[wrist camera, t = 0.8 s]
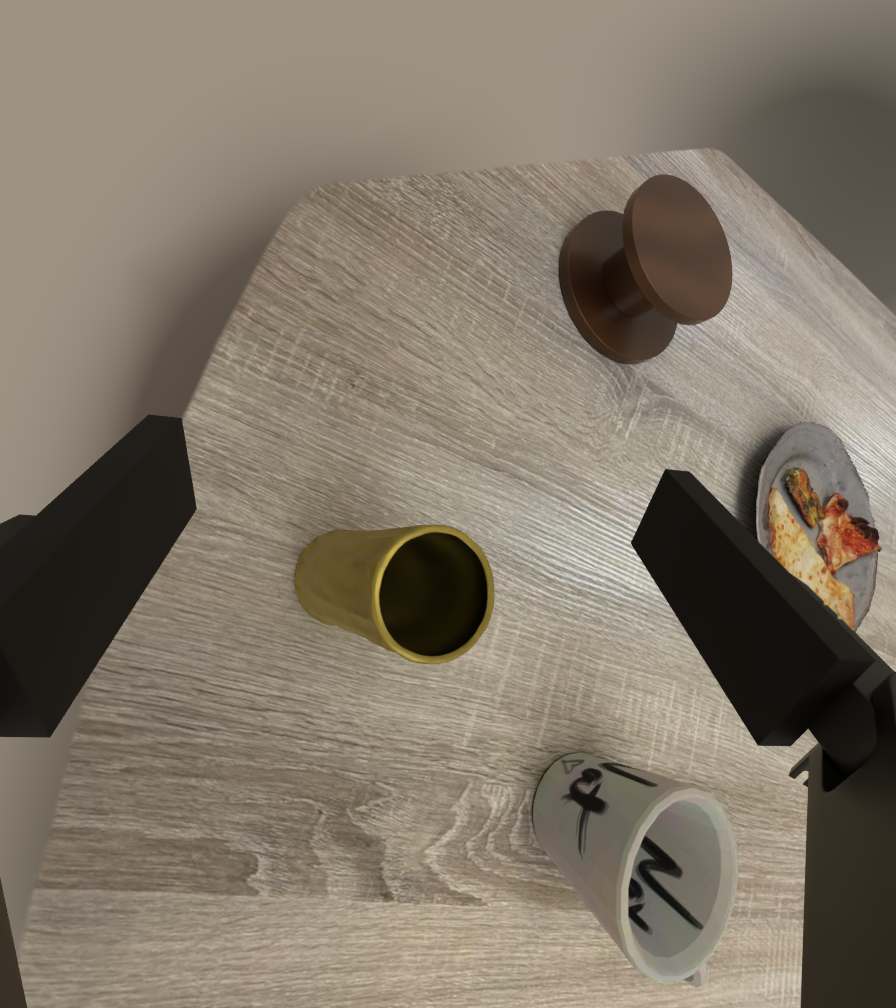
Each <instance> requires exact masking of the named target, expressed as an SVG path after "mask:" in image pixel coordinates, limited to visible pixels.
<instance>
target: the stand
mask: <svg viewBox="0 0 896 1008" xmlns="http://www.w3.org/2000/svg"><path fill="white" fill-rule="evenodd" d="M559 277H560V286H561V290H562V295H563V298H564V301H565V305H566V307H567V309H568V312H569V314H570V316H571V318H572V320H573V322H574V324H575V325H576V327H577V328H578V330H579V331H580V333H581V334H582V335H583V337H584V338H585V339H586V340H587V342H588V343H589V344H590V345H591V346H592V347H593V348H595V349H596V350H597V351H598V352H600V353H601V354H602V355H604V356H606V357H607V358H609V359H611V360H614V361H616V362H620V363H625V364H637V363H641V362H644V361H646V360H649V359H651V358H653V357H655V356H657V355H659V354H660V353H661V352H663V351H664V350H665V348H666V347H667V346H668V345H669V343H670V342H671V340H672V338H673V336H674V334H675V331H676V327H677V323H679V324H683V325H696V324H700V323H702V322H704V321H706V320H708V319H711V318H713V317H715V316H716V315H717V314H718V313H719V312H720V311H721V310H722V309H723V308H724V306H725V304H726V303H727V300H728V298H729V295H730V291H731V285H732V262H731V255H730V250H729V246H728V243H727V239H726V236H725V234H724V231H723V229H722V226H721V224H720V222H719V220H718V218H717V216H716V215H715V213H714V211H713V210H712V208H711V207H710V205H709V204H708V202H707V201H706V200H705V199H704V197H703V196H702V195H701V194H700V193H699V192H698V191H697V190H696V189H695V188H694V187H693V186H691V185H690V184H688V183H687V182H686V181H684V180H682V179H680V178H678V177H675V176H671V175H657V176H653V177H651V178H649V179H648V180H647V181H645V182H644V183H643V184H642V185H641V186H639V187H638V188H637V189H636V190H635V191H634V192H633V193H632V195H631V196H630V198H629V200H628V201H627V204H626V207H625V210H624V214H621V213H618V212H614V211H599V212H595V213H592V214H590V215H588V216H587V217H586V218H584V219H583V220H582V221H581V222H580V223H578V224H577V225H576V226H575V227H574V228H573V229H572V230H571V232H570V233H569V234H568V236H567V238H566V239H565V242H564V244H563V247H562V251H561V255H560V262H559Z"/></svg>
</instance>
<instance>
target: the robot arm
mask: <svg viewBox="0 0 896 1008" xmlns="http://www.w3.org/2000/svg"><path fill="white" fill-rule="evenodd" d="M196 509H197V508H196V502H195V496H194V490H193V484H192V478H191V472H190V466H189V460H188V454H187V448H186V441H185V435H184V429H183V423H182V418H175V417H166V416H156V415H148V416H146V418H144V419H143V420H142V421H141V422H140V423H139V424H138V425H136V426H135V427H134V428H133V429H132V430H131V431H130V432H129V433H128V434H126V435H125V436H124V437H123V438H122V439H121V440H120V441H119V442H118V443H116V444H115V445H114V446H113V447H112V448H111V449H110V450H109V451H107V452H106V453H105V454H104V455H103V456H102V457H101V458H100V459H99V460H98V461H96V462H95V463H94V464H93V465H92V466H91V467H90V468H89V469H87V470H86V471H85V472H84V473H83V474H82V475H81V476H80V477H79V478H77V479H76V480H75V481H74V482H73V483H72V484H71V485H70V486H69V487H67V488H66V489H65V490H64V491H63V492H62V493H61V494H60V495H58V496H57V498H55V499H54V500H53V501H52V502H51V503H50V504H48V505H47V506H46V507H45V508H44V509H43V510H42V511H41V512H40V513H38V514H37V515H36V516H32V515H18V516H16V517H13V518H11V519H9V520H7V521H5V522H3V523H1V524H0V737H51V735H52V734H53V732H54V730H55V729H56V727H57V726H58V724H59V723H60V721H61V720H62V718H63V716H64V715H65V713H66V712H67V710H68V708H69V707H70V706H71V704H72V702H73V701H74V699H75V697H76V696H77V694H78V693H79V692H80V690H81V688H82V687H83V685H84V684H85V682H86V681H87V679H88V677H89V676H90V674H91V673H92V671H93V670H94V668H95V667H96V665H97V663H98V662H99V660H100V659H101V657H102V656H103V654H104V653H105V651H106V649H107V648H108V646H109V645H110V643H111V642H112V640H113V639H114V637H115V635H116V634H117V632H118V631H119V629H120V628H121V626H122V625H123V623H124V621H125V620H126V618H127V617H128V615H129V614H130V612H131V610H132V609H133V607H134V606H135V604H136V603H137V601H138V600H139V598H140V596H141V595H142V593H143V592H144V590H145V589H146V587H147V586H148V584H149V582H150V581H151V579H152V578H153V576H154V575H155V573H156V572H157V570H158V568H159V567H160V565H161V564H162V562H163V561H164V559H165V557H166V556H167V554H168V553H169V551H170V550H171V548H172V547H173V545H174V543H175V542H176V540H177V539H178V537H179V536H180V534H181V533H182V531H183V529H184V528H185V526H186V525H187V523H188V522H189V520H190V519H191V517H192V515H193V514H194V512H195V511H196ZM631 544H632V546H633V548H634V549H635V551H636V552H637V554H638V556H639V557H640V559H641V560H642V562H643V564H644V565H645V567H646V568H647V570H648V571H649V573H650V575H651V576H652V578H653V579H654V581H655V583H656V584H657V586H658V587H659V589H660V591H661V592H662V594H663V595H664V597H665V599H666V600H667V602H668V603H669V605H670V606H671V608H672V610H673V611H674V613H675V614H676V616H677V618H678V619H679V621H680V622H681V624H682V626H683V627H684V629H685V630H686V632H687V633H688V635H689V637H690V638H691V640H692V641H693V643H694V645H695V646H696V648H697V649H698V651H699V653H700V654H701V656H702V657H703V659H704V661H705V662H706V664H707V665H708V667H709V668H710V670H711V672H712V673H713V675H714V676H715V678H716V680H717V681H718V683H719V684H720V686H721V688H722V689H723V691H724V692H725V694H726V696H727V697H728V699H729V700H730V702H731V703H732V705H733V707H734V708H735V710H736V711H737V713H738V715H739V716H740V718H741V719H742V721H743V723H744V724H745V726H746V727H747V729H748V730H749V732H750V734H751V735H752V737H753V738H754V740H755V742H756V743H757V745H758V746H791V745H792V744H793V743H794V742H795V741H796V740H797V739H798V738H799V737H800V736H801V735H802V734H803V733H804V732H805V731H806V730H807V729H809V730H810V731H811V733H812V734H813V735H814V737H815V738H816V739H817V741H818V742H819V743H818V744H817V745H816V746H814V747H813V748H812V749H811V750H810V751H809V752H808V753H807V754H806V755H805V756H804V757H803V758H802V759H801V760H800V761H799V762H798V763H797V764H796V765H794V766H793V767H792V768H791V771H790V773H789V776H790V777H792V778H793V779H795V778H796V777H797V776H798V775H799V774H800V773H802V772H803V771H809V777H808V779H807V780H806V781H805V782H804V783H803V785H805V786H807V787H808V807H807V837H806V867H805V897H804V926H803V956H802V986H801V1008H896V672H894V671H893V670H892V669H891V668H890V667H889V666H888V665H887V664H886V663H885V662H884V661H883V660H882V659H881V658H880V657H879V656H878V655H877V654H876V653H875V652H874V651H873V650H872V649H871V648H870V647H869V646H868V645H867V644H866V643H865V642H864V641H863V640H862V639H861V638H860V637H859V636H858V635H857V634H856V633H855V632H854V631H853V630H852V629H851V628H850V627H849V626H848V625H847V624H846V623H845V622H844V621H843V620H842V619H838V615H837V614H836V613H835V612H834V611H833V610H832V609H831V608H830V607H829V606H828V605H824V601H823V600H822V599H821V598H820V597H819V596H818V595H817V594H816V593H815V592H814V591H813V590H812V589H811V588H810V587H809V586H808V585H807V584H805V583H804V582H802V581H801V580H799V579H798V578H797V577H795V576H794V575H792V574H791V573H789V572H788V571H787V570H786V569H785V568H784V567H783V566H782V565H781V564H780V563H779V562H778V561H777V560H776V559H775V558H774V557H773V556H772V555H771V554H770V553H769V552H768V551H767V550H766V549H765V548H764V547H763V546H762V545H761V544H760V543H759V542H758V541H757V539H756V538H755V537H754V536H753V535H752V534H751V533H750V532H749V531H748V530H747V529H746V528H745V527H744V526H743V525H742V524H741V523H740V522H739V521H738V520H737V519H736V518H735V517H734V516H733V515H732V514H731V513H730V512H729V511H728V510H727V509H726V508H725V507H724V506H723V505H722V504H721V503H720V502H719V501H718V500H717V499H716V498H715V497H714V496H713V495H712V494H711V493H710V492H709V491H708V490H707V489H706V488H705V487H704V486H703V485H702V484H701V483H700V482H699V481H698V480H697V479H696V478H695V477H694V476H693V475H692V474H691V473H690V472H688V471H678V470H669V469H665V471H664V473H663V475H662V477H661V479H660V482H659V484H658V486H657V488H656V490H655V492H654V494H653V497H652V499H651V501H650V503H649V505H648V507H647V510H646V512H645V514H644V516H643V518H642V520H641V522H640V525H639V527H638V529H637V531H636V533H635V535H634V537H633V540H632V542H631ZM0 1008H27V1004H26V1000H25V995H24V990H23V985H22V980H21V976H20V971H19V966H18V961H17V956H16V951H15V947H14V942H13V937H12V932H11V927H10V923H9V918H8V913H7V908H6V904H5V899H4V894H3V889H2V884H1V879H0Z"/></svg>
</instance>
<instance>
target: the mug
mask: <svg viewBox="0 0 896 1008" xmlns="http://www.w3.org/2000/svg"><path fill="white" fill-rule="evenodd" d="M533 824H534V828H535V832H536V837H537V839H538V841H539V843H540V844H541V846H542V848H543V849H544V851H545V853H546V854H547V855H548V856H549V858H550V859H551V860H552V862H553V863H554V864H555V865H556V867H557V868H558V869H559V871H560V872H561V873H562V874H563V876H564V877H565V878H566V880H567V881H568V882H569V884H570V885H571V886H572V887H573V889H574V890H575V891H576V893H577V894H578V895H579V896H580V898H581V899H582V900H583V902H584V903H585V904H586V905H587V907H588V908H589V909H590V911H591V912H592V913H593V914H594V916H595V917H596V918H597V920H598V921H599V922H600V924H601V925H602V926H603V927H604V929H605V930H606V931H607V933H608V934H609V935H610V936H611V938H612V939H613V940H614V942H615V943H616V944H617V945H618V947H619V948H620V949H621V951H622V952H623V953H624V955H625V956H626V957H627V958H628V960H629V961H630V962H631V964H632V965H633V966H634V967H635V969H637V970H638V971H640V972H641V973H643V974H644V975H646V976H647V977H649V978H650V979H652V980H653V981H655V982H659V983H677V982H679V981H681V980H684V981H686V982H688V983H690V984H691V985H693V986H695V987H699V986H702V985H704V984H706V983H708V976H709V972H708V964H707V960H708V959H709V958H710V957H711V956H712V954H713V952H714V950H715V949H716V947H717V945H718V943H719V942H720V940H721V938H722V936H723V935H724V933H725V930H726V927H727V924H728V921H729V918H730V915H731V912H732V909H733V906H734V901H735V894H736V888H737V881H738V849H737V844H736V840H735V835H734V831H733V827H732V823H731V821H730V820H729V818H728V816H727V814H726V812H725V810H724V808H723V806H722V805H721V804H720V803H719V802H718V801H717V800H716V799H715V798H714V797H713V796H712V795H711V794H710V793H708V792H707V791H706V790H705V789H702V788H699V787H695V786H692V785H688V784H685V783H682V782H678V781H675V780H672V779H668V778H665V777H662V776H658V775H655V774H652V773H648V772H645V771H641V770H638V769H635V768H631V767H628V766H625V765H621V764H618V763H615V762H611V761H608V760H605V759H601V758H598V757H595V756H591V755H588V754H584V753H575V754H569V755H566V756H564V757H562V758H561V759H559V760H557V761H556V762H555V763H554V764H553V765H552V766H551V767H550V768H549V769H548V770H547V772H546V773H545V775H544V776H543V778H542V780H541V782H540V784H539V786H538V788H537V792H536V796H535V800H534V804H533Z"/></svg>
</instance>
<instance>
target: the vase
mask: <svg viewBox="0 0 896 1008" xmlns="http://www.w3.org/2000/svg"><path fill="white" fill-rule="evenodd" d="M295 588H296V592H297V596H298V598H299V601H300V603H301V604H302V606H303V608H304V609H305V611H306V612H307V613H308V614H310V615H311V616H312V617H313V618H315V619H316V620H318V621H320V622H322V623H324V624H327V625H331V626H337V627H340V628H342V629H344V630H347V631H350V632H353V633H355V634H357V635H359V636H362V637H364V638H366V639H368V640H369V641H371V642H373V643H375V644H377V645H379V646H381V647H383V648H385V649H387V650H389V651H392V652H395V653H397V654H398V655H400V656H402V657H403V658H405V659H407V660H409V661H411V662H415V663H423V664H439V663H445V662H448V661H451V660H453V659H456V658H458V657H459V656H461V655H463V654H464V653H466V652H467V651H468V650H469V649H470V648H472V647H473V645H474V644H475V643H476V642H477V640H478V639H479V638H480V637H481V635H482V634H483V632H484V631H485V629H486V627H487V626H488V624H489V621H490V618H491V614H492V611H493V605H494V581H493V575H492V571H491V568H490V565H489V562H488V560H487V558H486V556H485V554H484V552H483V551H482V549H481V548H480V547H479V546H478V545H477V544H476V543H475V542H474V541H473V540H472V539H471V538H470V537H468V536H467V535H466V534H465V533H463V532H462V531H460V530H458V529H455V528H452V527H448V526H443V525H417V526H411V527H402V528H394V529H386V530H372V531H351V530H335V531H331V532H329V533H326V534H324V535H321V536H319V537H318V538H316V539H315V540H314V541H313V542H312V543H311V544H310V545H309V546H308V547H307V548H306V549H305V550H304V552H303V553H302V555H301V556H300V559H299V561H298V564H297V568H296V574H295Z"/></svg>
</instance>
